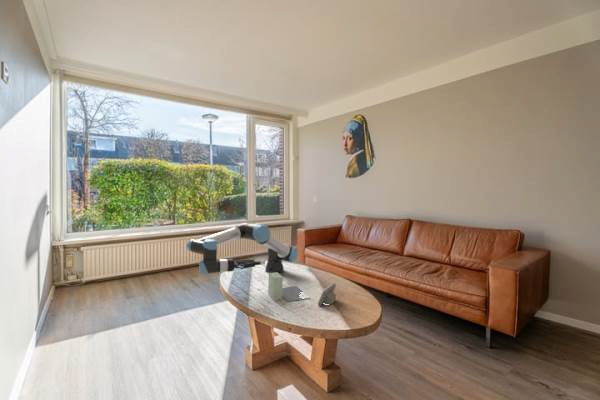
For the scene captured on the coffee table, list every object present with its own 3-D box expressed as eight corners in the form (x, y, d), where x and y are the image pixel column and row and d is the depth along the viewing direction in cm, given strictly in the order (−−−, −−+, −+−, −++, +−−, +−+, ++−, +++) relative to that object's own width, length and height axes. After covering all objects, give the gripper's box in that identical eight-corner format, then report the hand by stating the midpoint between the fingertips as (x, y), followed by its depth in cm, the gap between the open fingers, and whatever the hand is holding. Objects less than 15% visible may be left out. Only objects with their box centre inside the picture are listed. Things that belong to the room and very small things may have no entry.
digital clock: (328, 296, 186) (329, 281, 185) (340, 301, 180) (341, 284, 179) (313, 304, 174) (313, 287, 173) (325, 309, 168) (325, 291, 167)
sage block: (276, 292, 190) (277, 272, 189) (282, 298, 181) (282, 277, 180) (268, 294, 187) (268, 273, 186) (273, 300, 178) (273, 278, 177)
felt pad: (296, 286, 202) (296, 285, 202) (310, 298, 182) (310, 297, 182) (275, 289, 196) (275, 288, 196) (287, 302, 176) (287, 301, 176)
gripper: (224, 268, 176) (261, 264, 185) (228, 274, 164) (267, 270, 174) (225, 256, 175) (262, 253, 185) (228, 262, 163) (268, 258, 173)
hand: (264, 262), depth 179 cm, fingers closed
